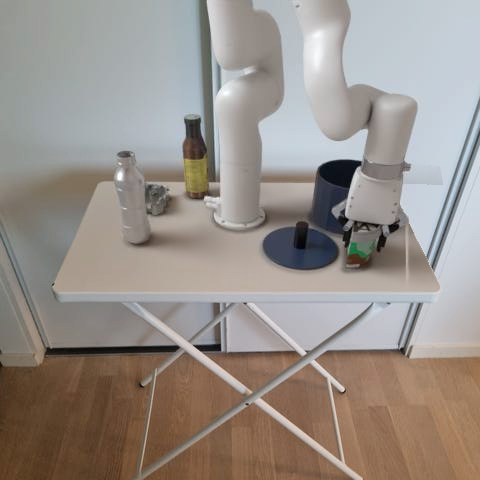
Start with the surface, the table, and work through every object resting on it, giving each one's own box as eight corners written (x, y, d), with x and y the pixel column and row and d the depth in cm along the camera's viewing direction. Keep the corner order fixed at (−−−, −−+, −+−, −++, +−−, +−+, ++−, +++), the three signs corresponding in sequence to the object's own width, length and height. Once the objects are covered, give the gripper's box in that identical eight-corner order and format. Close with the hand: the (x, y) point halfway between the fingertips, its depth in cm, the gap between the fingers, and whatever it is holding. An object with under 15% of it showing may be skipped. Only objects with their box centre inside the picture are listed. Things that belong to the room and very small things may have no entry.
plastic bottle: (137, 228, 109) (125, 145, 96) (158, 238, 107) (148, 153, 93) (117, 240, 106) (101, 155, 92) (138, 250, 103) (125, 164, 89)
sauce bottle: (213, 196, 122) (211, 118, 109) (192, 201, 120) (188, 123, 106) (201, 186, 126) (198, 110, 113) (181, 191, 124) (175, 114, 110)
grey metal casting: (161, 217, 114) (159, 201, 111) (132, 214, 115) (129, 199, 112) (172, 196, 122) (171, 181, 119) (145, 193, 122) (143, 179, 120)
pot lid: (255, 264, 100) (256, 238, 95) (270, 226, 112) (272, 201, 107) (331, 277, 97) (337, 251, 92) (339, 236, 109) (344, 211, 104)
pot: (306, 231, 110) (312, 184, 102) (315, 200, 122) (321, 155, 114) (375, 241, 107) (387, 194, 99) (377, 208, 119) (388, 164, 111)
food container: (373, 278, 97) (384, 237, 90) (344, 274, 98) (353, 233, 91) (373, 246, 106) (383, 207, 99) (346, 243, 107) (354, 203, 100)
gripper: (427, 164, 89) (403, 243, 101) (337, 153, 92) (324, 231, 104) (429, 181, 83) (403, 262, 95) (333, 168, 86) (320, 249, 98)
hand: (362, 245), depth 99 cm, fingers closed on food container, 6 cm apart
